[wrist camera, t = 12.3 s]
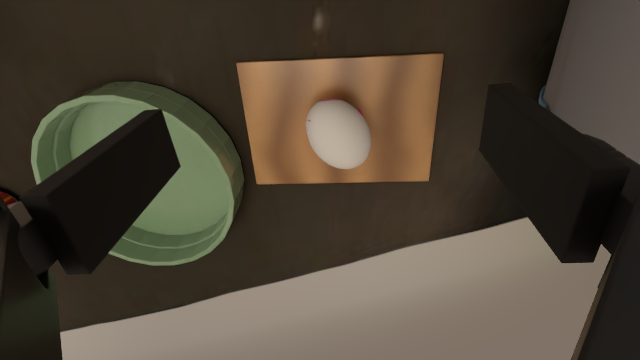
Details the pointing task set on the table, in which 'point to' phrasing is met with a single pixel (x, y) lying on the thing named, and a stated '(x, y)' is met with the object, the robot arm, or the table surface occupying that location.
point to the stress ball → (338, 133)
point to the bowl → (181, 190)
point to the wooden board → (359, 91)
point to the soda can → (8, 199)
